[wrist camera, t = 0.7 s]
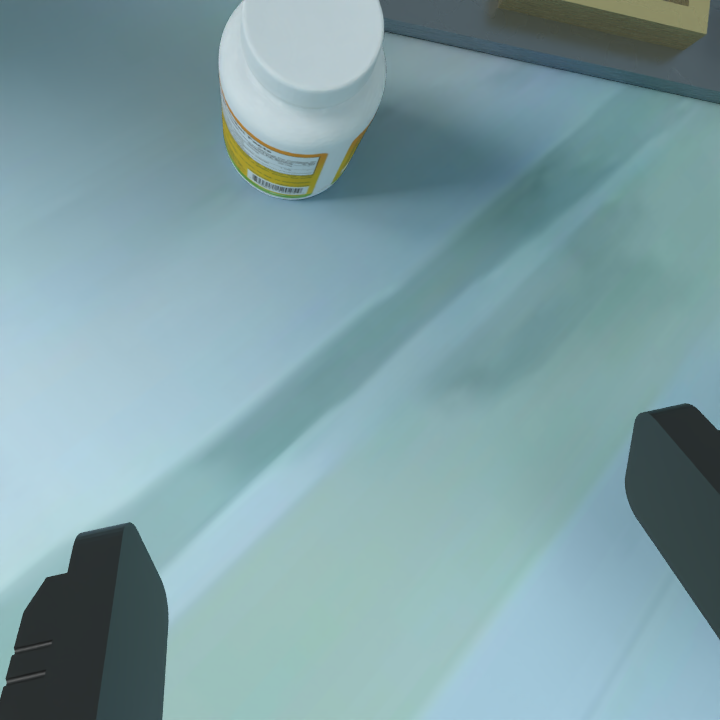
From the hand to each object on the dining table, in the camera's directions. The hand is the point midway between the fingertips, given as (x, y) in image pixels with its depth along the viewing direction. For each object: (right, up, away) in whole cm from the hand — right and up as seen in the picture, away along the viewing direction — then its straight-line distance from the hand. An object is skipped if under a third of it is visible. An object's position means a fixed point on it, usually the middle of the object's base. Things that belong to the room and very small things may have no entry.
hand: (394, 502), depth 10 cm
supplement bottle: (-4, +12, +17) cm, 21 cm away
